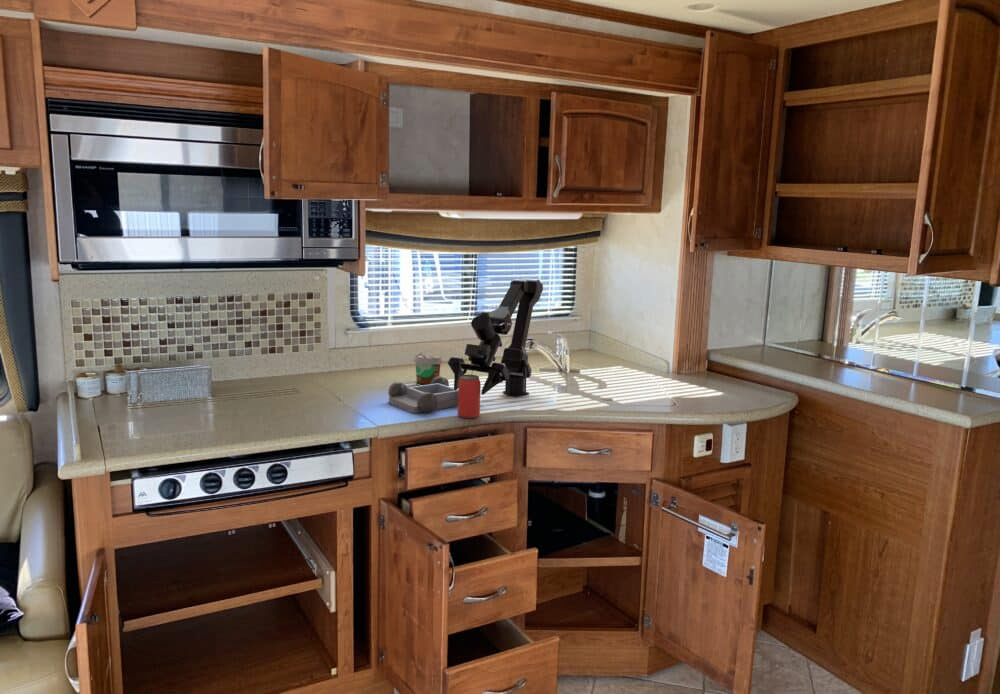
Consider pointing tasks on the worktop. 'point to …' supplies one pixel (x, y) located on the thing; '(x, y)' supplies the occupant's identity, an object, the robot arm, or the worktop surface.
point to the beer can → (469, 396)
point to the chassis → (424, 396)
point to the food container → (426, 368)
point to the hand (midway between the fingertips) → (468, 391)
